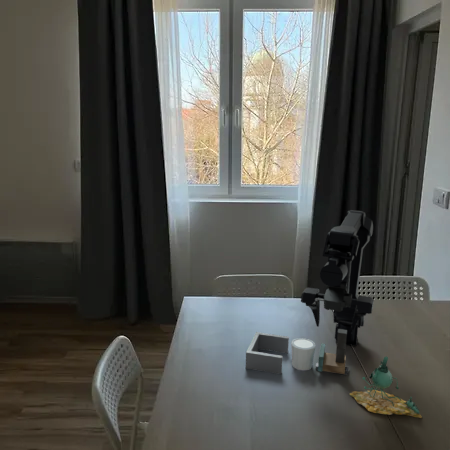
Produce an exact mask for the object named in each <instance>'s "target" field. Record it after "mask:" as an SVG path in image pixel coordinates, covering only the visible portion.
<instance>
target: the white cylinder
mask: <svg viewBox="0 0 450 450" xmlns="http://www.w3.org/2000/svg"><path fill="white" fill-rule="evenodd" d="M290 344H291V345H290V346H291V348H290V349H291V365H292V367H293V368H294V369H296V370H298V371H310V370H311V369H312V367H313V362H314V356H315V351H316V343H315V342H314V341H313V340H312V339H308V338H305V337H304V338H302V337H301V338H300V337H298V338H293V339H292V340H291V342H290Z"/></svg>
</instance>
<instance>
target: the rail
mask: <svg viewBox="0 0 450 450" xmlns="http://www.w3.org/2000/svg"><path fill="white" fill-rule="evenodd" d="M318 362H319V361H317V362H316V363H315V370H316V371H318ZM344 375H348V376H349V367H348V366H345V374H344Z"/></svg>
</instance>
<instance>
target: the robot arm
mask: <svg viewBox="0 0 450 450" xmlns="http://www.w3.org/2000/svg"><path fill="white" fill-rule="evenodd" d="M373 231H374V224H373V220H372V219H371V218H369V217H368V216H367V215H366V212H364V211H362V210H352V209H350V210H348V211H347V212H346V215H345V217H344V219H343V221H342V223H341V224H340V225H338V226H334V227H332V228H331V229H330V230H329V232H327V234H326V238H325V239H326V240H325V243H324V248H323V252H322V257H327V262H326V263H325V265H323V267H322V268H321V269H320V272H319V278H320V280H321V282H322V283H323V284H324V285H326V288H325V291H324V293H320V289H319V288H313V287H305V288H304V290H303V291H302V292H301V296H300V302H301V303H302V304H305V306H306V307H309V308H310V310H311V313H312V314H313V317H314V321H315V324H316V327H318V328H319V326H320V322H321V321H320V318H321V316H320V315H321V314H320V312H321V311H320V310H321V309H320V308H321V307H320V305H321V304H320V301H321V302H323V308H324V310H327V311H333V313H332V314H333V323H335V330H334V331H335V332H334V339H335V343H336V344H337V337H338V329H343V330H347V337H346V346H347V345H349V346H353V347H354V346H355V347H357V346H358V331H359V329H361V327H364V326H365V325H364V324H365V316H367V315H370V314H372V313H373V310H374V309H373V308H374V302H375V301H374V298H373V297H371V296H366V295H365V296H364V295H361V294H360V295H359V294H358V291H359V286H360V285H359V283H360V277H361V269H362V268H361V267H362V260H363V251H364V249H365V247H366V246H367V244H369V242H370V240H371V237H372V235H373V233H374V232H373Z"/></svg>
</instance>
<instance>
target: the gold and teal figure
mask: <svg viewBox="0 0 450 450" xmlns="http://www.w3.org/2000/svg"><path fill="white" fill-rule="evenodd" d="M388 357H389V356H384V357H383V360H381V361H380V365H379V366H378V367H375V369H374V370H373V371H372V372H370V375H369V376H368V378H369V379H371V380H372V384H370V383H369V381H368V380H367V379H366V377H365V376H363V377H362V380H363V381H365V382H366V383H367V384H368V385H369V386H370V387H367V385H364V387H363V389H364V390H365V391H362V390H361V391H356V390H355V391H352V390H351V392H350V393H349V396H350V397H353V398H354V400H355V401H356V403H357V404H359V405H362V407H364V408H365V409H366V411H368V412H369V413H370V412H371V413H374V414H379V415H389V416H390V415H393V414H394V415H404V416H410V417H413V418H417V419H418V418H420V419H422V418H423V416H422V415H421V413H420V410H419V408H418V407H417V405H416V403H415V402H413V400H412V399H413V397H412V396H410V397H409V398H408V400H407V401H406V400H404V399H402V398H401V397H399V396H395V395H394V394H390V393H388V392H385V391H384V389H385V390H386V389H388V388H390V386H391V385H392V383H393V379H395V380H398V378H396V377H393V374H392V373H391V371H390V370H389V368H388V365H387V363H388V361H389V358H388ZM398 384H399V382H398V381H396V386H395V388H396V389H397V390H399V389H400V388H399V385H398ZM371 386H372V387H371ZM378 389H380V390H378Z"/></svg>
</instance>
